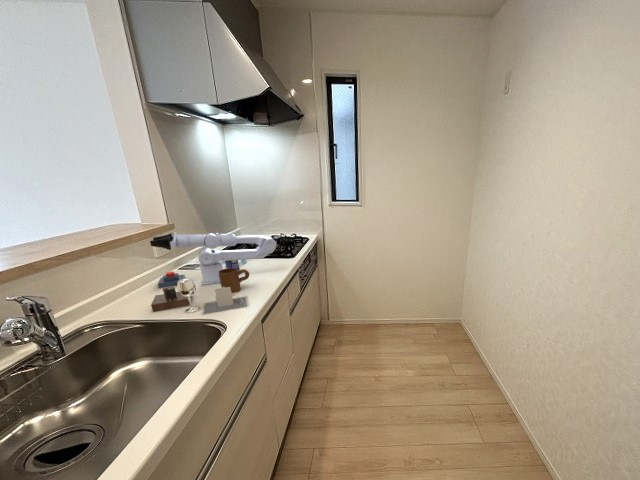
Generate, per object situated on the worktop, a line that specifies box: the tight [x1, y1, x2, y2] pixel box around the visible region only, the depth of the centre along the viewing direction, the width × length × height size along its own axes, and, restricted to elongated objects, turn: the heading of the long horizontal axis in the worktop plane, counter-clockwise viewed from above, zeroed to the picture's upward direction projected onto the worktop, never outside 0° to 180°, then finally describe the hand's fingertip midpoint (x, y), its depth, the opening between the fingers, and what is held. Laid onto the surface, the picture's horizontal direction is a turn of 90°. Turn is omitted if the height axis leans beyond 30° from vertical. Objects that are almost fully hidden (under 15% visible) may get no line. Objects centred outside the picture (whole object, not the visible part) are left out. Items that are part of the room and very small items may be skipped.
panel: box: [150, 291, 192, 313], centre depth 126 cm, size 12×11×3 cm
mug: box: [219, 268, 250, 293], centre depth 138 cm, size 12×8×9 cm, turn 111°
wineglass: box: [176, 278, 200, 313], centre depth 118 cm, size 6×6×12 cm
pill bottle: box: [224, 260, 241, 271], centre depth 162 cm, size 6×6×11 cm
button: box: [164, 271, 176, 277], centre depth 148 cm, size 4×4×2 cm
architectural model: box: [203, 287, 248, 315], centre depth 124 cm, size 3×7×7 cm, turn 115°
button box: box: [157, 272, 187, 289], centre depth 149 cm, size 10×10×4 cm
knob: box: [162, 286, 177, 299], centre depth 124 cm, size 4×4×4 cm
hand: (152, 241), depth 135 cm, fingers open, 7 cm apart
